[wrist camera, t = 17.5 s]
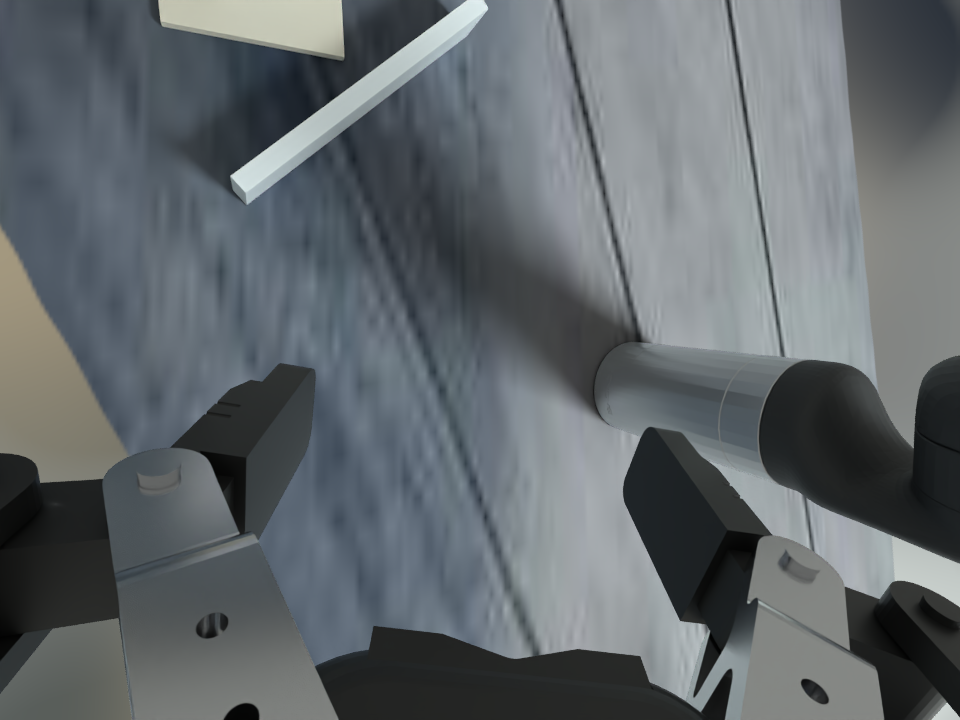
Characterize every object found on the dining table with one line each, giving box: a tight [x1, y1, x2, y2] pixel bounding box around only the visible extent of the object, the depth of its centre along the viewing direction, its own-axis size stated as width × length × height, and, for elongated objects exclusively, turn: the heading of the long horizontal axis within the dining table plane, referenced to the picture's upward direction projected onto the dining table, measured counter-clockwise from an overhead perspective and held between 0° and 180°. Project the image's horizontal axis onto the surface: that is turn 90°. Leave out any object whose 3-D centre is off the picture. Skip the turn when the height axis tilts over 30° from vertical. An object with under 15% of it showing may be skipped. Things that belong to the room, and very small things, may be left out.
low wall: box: [230, 0, 488, 205], centre depth 33 cm, size 22×1×4 cm, turn 131°
